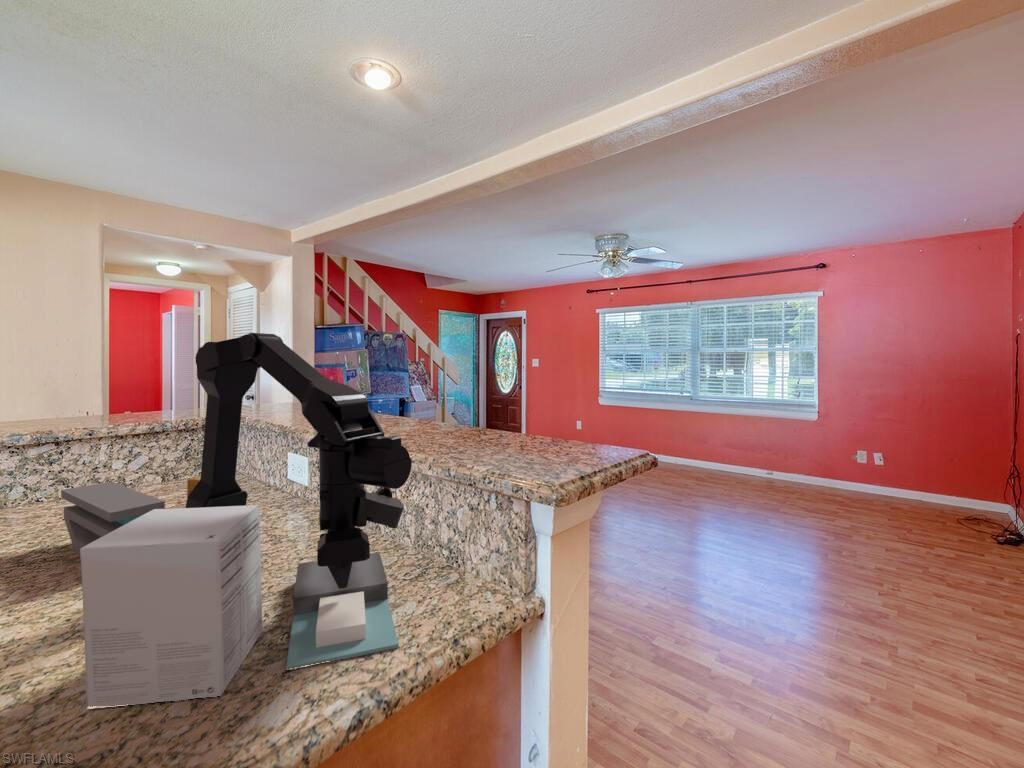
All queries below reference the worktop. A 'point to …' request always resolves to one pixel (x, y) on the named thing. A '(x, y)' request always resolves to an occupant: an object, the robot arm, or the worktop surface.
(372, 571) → the plate
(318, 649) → the mat
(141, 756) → the worktop surface
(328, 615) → the tile
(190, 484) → the supplement box
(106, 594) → the supplement box
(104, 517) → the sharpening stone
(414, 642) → the worktop surface
